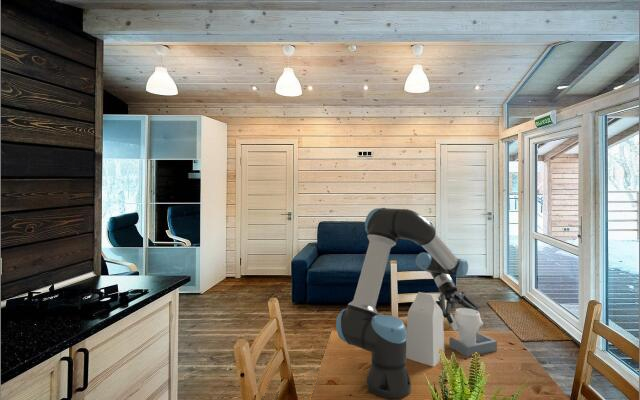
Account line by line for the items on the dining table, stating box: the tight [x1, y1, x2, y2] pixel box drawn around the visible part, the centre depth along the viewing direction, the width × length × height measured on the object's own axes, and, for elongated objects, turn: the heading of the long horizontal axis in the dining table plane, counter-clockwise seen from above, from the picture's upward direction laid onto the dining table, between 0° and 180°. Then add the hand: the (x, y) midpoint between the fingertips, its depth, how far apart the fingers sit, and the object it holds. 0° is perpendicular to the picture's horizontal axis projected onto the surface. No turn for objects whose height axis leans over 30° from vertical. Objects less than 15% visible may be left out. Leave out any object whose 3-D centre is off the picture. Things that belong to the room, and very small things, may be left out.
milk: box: [406, 291, 445, 367], centre depth 147 cm, size 12×12×26 cm
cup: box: [453, 307, 482, 345], centre depth 158 cm, size 11×11×15 cm
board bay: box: [448, 331, 498, 358], centre depth 155 cm, size 16×10×4 cm, turn 111°
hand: (469, 327), depth 157 cm, fingers open, 13 cm apart
